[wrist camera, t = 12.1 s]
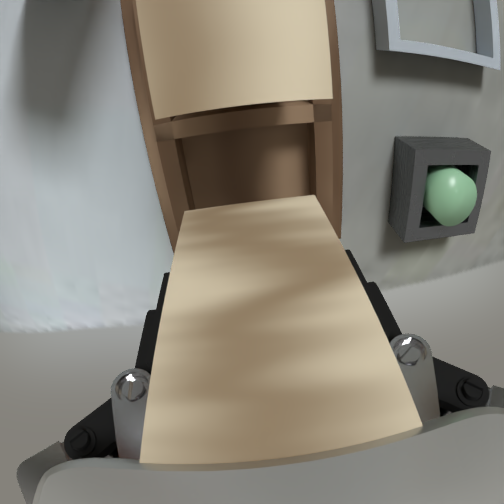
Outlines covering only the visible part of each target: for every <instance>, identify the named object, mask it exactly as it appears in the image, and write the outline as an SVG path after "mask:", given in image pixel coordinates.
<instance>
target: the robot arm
mask: <svg viewBox="0 0 504 504" xmlns="http://www.w3.org/2000/svg"><path fill="white" fill-rule="evenodd" d="M345 252H346V254H347V256H348V258H349V260H350V262H351V264H352V266H353V268H354V270H355V272H356V274H357V276H358V278H359V280H360V282H361V284H362V286H363V288H364V290H365V292H366V294H367V296H368V298H369V300H370V302H371V304H372V306H373V309H374V311H375V313H376V315H377V317H378V319H379V321H380V324H381V326H382V328H383V330H384V332H385V335H386V337H387V339H388V341H389V344H390V346H391V348H392V350H393V353H394V355H395V357H396V360H397V362H398V364H399V367H400V369H401V372H402V374H403V376H404V379H405V381H406V384H407V386H408V389H409V391H410V394H411V396H412V399H413V401H414V404H415V406H416V409H417V411H418V414H419V417H420V419H421V422H422V425H423V426H421V427H418V428H415V429H412V430H409V431H406V432H402V433H399V434H395V435H392V436H388V437H385V438H381V439H377V440H374V441H370V442H366V443H361V444H357V445H353V446H348V447H344V448H339V449H334V450H329V451H324V452H319V453H313V454H307V455H301V456H294V457H287V458H279V459H271V460H261V461H251V462H237V463H219V464H152V463H140V453H141V444H142V435H143V427H144V419H145V412H146V404H147V397H148V391H149V384H150V377H151V371H152V365H153V359H154V353H155V347H156V342H157V336H158V330H159V325H160V320H161V315H162V309H163V304H164V299H165V294H166V290H167V285H168V280H169V275H170V272H168V273H165V274H164V277H163V281H162V285H161V290H160V294H159V299H158V303H157V308H156V310H149V311H148V312H147V315H146V319H145V324H144V328H143V333H142V338H141V342H140V346H139V351H138V356H137V361H136V366H135V368H134V369H129V370H126V371H124V372H122V373H121V374H119V375H118V376H117V377H116V379H115V380H114V381H113V384H112V386H111V398H110V399H109V400H108V401H106V402H105V403H104V404H103V405H101V406H100V407H98V408H97V409H96V410H94V411H93V412H92V413H91V414H89V415H88V416H86V417H85V418H84V419H83V420H81V421H80V422H79V423H77V424H76V425H75V426H73V427H72V428H71V429H70V430H69V431H68V432H67V434H66V436H65V440H64V442H62V443H60V442H59V441H58V442H56V443H54V444H53V445H51V446H49V447H47V448H46V449H44V450H42V451H40V452H39V453H37V454H35V455H34V456H32V457H30V458H28V459H26V460H25V461H23V462H22V463H21V464H20V465H19V467H18V469H17V480H18V483H19V486H20V488H21V491H22V493H23V496H24V499H25V501H26V504H504V388H501V387H497V386H494V385H493V386H492V387H491V388H489V387H488V386H487V384H486V383H485V381H484V380H483V379H482V378H480V377H478V376H477V375H475V374H472V373H470V372H467V371H465V370H463V369H460V368H458V367H455V366H453V365H451V364H448V363H446V362H444V361H441V360H439V359H437V358H434V357H432V353H431V349H430V346H429V345H428V343H427V342H426V341H425V340H424V339H423V338H421V337H420V336H417V335H414V334H402V333H401V331H400V329H399V327H398V325H397V323H396V321H395V319H394V317H393V315H392V313H391V311H390V309H389V307H388V305H387V303H386V301H385V299H384V297H383V295H382V294H381V292H380V290H379V288H378V286H377V285H376V283H375V282H369V283H367V281H366V280H365V278H364V276H363V274H362V272H361V270H360V268H359V266H358V264H357V262H356V260H355V258H354V257H353V255H352V253H351V251H350V250H345Z"/></svg>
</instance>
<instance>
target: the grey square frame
mask: <svg viewBox="0 0 504 504" xmlns="http://www.w3.org/2000/svg"><path fill="white" fill-rule="evenodd" d="M473 4H474V14H475V26H476V45H477V54H476V53H472V52H468V51H463V50H459V49H454V48H449V47H444V46H439V45H434V44H428V43H422V42H415V41H408V40H400V28H399V16H398V6H397V0H372V6H373V16H374V27H375V40H376V50H385V51H396V52H405V53H413V54H421V55H428V56H434V57H440V58H446V59H452V60H457V61H462V62H467V63H471V64H476V65H480V66H484V67H489V68H493V69H497V70H500V35H499V21H498V10H497V1H496V0H473Z"/></svg>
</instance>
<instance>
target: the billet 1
mask: <svg viewBox="0 0 504 504" xmlns="http://www.w3.org/2000/svg"><path fill="white" fill-rule="evenodd" d="M136 6H137V13H138V21H139V28H140V35H141V41H142V48H143V54H144V60H145V66H146V72H147V78H148V83H149V89H150V94H151V100H152V105H153V110H154V115H155V120H156V119H161V118H166V117H171V116H176V115H182V114H187V113H193V112H199V111H205V110H212V109H219V108H226V107H233V106H242V105H250V104H260V103H270V102H282V101H295V100H313V99H333V94H332V76H331V61H330V48H329V37H328V26H327V16H326V7H325V0H136Z"/></svg>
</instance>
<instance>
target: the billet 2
mask: <svg viewBox="0 0 504 504" xmlns="http://www.w3.org/2000/svg"><path fill="white" fill-rule="evenodd" d="M421 426H423V425H422V422H421V419H420V417H419V414H418V411H417V409H416V406H415V404H414V401H413V399H412V396H411V394H410V391H409V389H408V386H407V384H406V381H405V379H404V376H403V374H402V372H401V369H400V367H399V364H398V362H397V360H396V357H395V355H394V353H393V350H392V348H391V346H390V344H389V341H388V339H387V337H386V335H385V332H384V330H383V328H382V326H381V324H380V321H379V319H378V317H377V315H376V313H375V311H374V309H373V306H372V304H371V302H370V300H369V298H368V296H367V294H366V292H365V290H364V288H363V286H362V284H361V282H360V280H359V278H358V276H357V274H356V272H355V270H354V268H353V266H352V264H351V262H350V260H349V258H348V256H347V254H346V252H345V250H344V248H343V246H342V244H341V242H340V240H339V239H338V237H337V235H336V233H335V231H334V229H333V227H332V225H331V224H330V222H329V220H328V218H327V216H326V214H325V213H324V211H323V209H322V207H321V205H320V204H319V202H318V200H317V198H316V196H315V195H308V196H298V197H289V198H280V199H272V200H263V201H255V202H247V203H239V204H232V205H224V206H217V207H210V208H203V209H196V210H189V211H184V215H183V219H182V223H181V227H180V232H179V236H178V240H177V244H176V249H175V253H174V257H173V262H172V266H171V271H170V275H169V280H168V285H167V290H166V294H165V299H164V304H163V309H162V315H161V320H160V325H159V330H158V336H157V342H156V347H155V353H154V359H153V365H152V371H151V377H150V384H149V391H148V397H147V404H146V412H145V419H144V427H143V435H142V444H141V453H140V463H152V464H219V463H237V462H251V461H261V460H271V459H279V458H287V457H294V456H301V455H307V454H313V453H319V452H324V451H329V450H334V449H339V448H344V447H348V446H353V445H357V444H361V443H366V442H370V441H374V440H377V439H381V438H385V437H388V436H392V435H395V434H399V433H402V432H406V431H409V430H412V429H415V428H418V427H421Z"/></svg>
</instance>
